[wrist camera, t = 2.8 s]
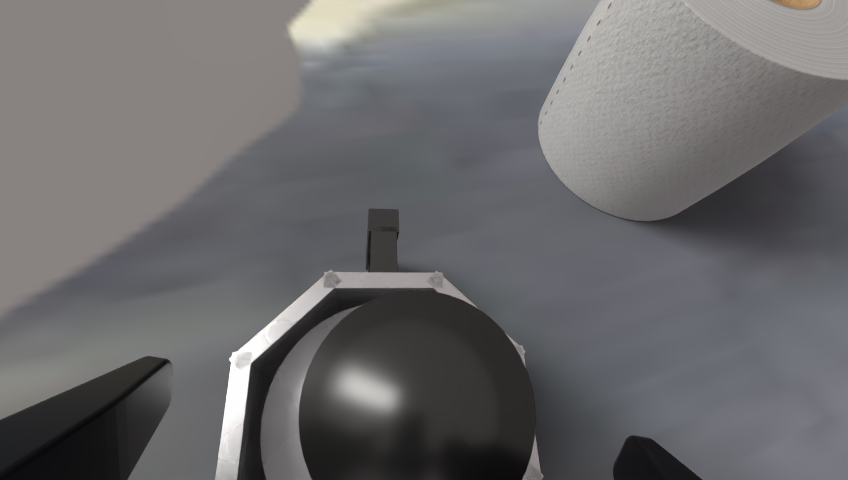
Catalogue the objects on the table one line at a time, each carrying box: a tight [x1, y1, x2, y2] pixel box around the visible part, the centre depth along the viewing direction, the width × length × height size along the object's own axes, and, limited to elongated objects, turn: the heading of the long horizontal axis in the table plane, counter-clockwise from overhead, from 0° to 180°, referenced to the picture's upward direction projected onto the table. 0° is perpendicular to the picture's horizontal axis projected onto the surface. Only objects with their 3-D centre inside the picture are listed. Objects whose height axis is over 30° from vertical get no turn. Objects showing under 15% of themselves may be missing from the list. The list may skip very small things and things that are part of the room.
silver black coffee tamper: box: [260, 290, 536, 480], centre depth 10 cm, size 8×8×9 cm
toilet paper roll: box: [538, 0, 848, 221], centre depth 23 cm, size 12×12×12 cm
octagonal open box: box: [215, 209, 544, 480], centre depth 17 cm, size 13×10×6 cm
